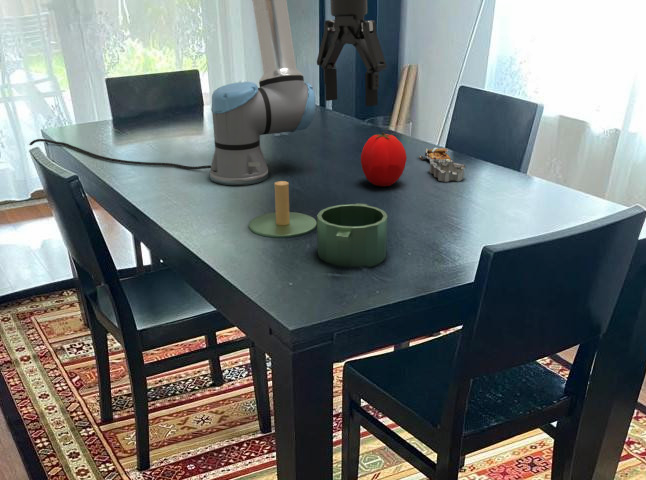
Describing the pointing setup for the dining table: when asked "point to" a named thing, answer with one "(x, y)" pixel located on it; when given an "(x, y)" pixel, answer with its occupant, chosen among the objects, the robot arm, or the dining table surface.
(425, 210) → the dining table surface
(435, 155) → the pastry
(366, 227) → the pot
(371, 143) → the tomato
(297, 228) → the lid
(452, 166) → the egg carton
